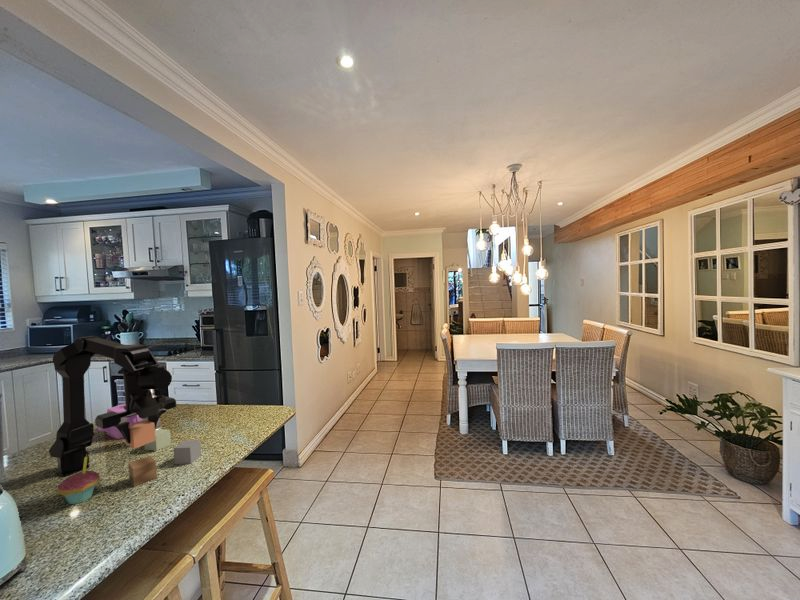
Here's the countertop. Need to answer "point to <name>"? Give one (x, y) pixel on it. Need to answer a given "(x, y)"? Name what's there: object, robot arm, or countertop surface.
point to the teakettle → (113, 430)
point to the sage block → (159, 440)
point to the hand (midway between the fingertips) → (140, 439)
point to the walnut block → (142, 471)
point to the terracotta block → (141, 433)
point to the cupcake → (79, 485)
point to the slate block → (187, 452)
